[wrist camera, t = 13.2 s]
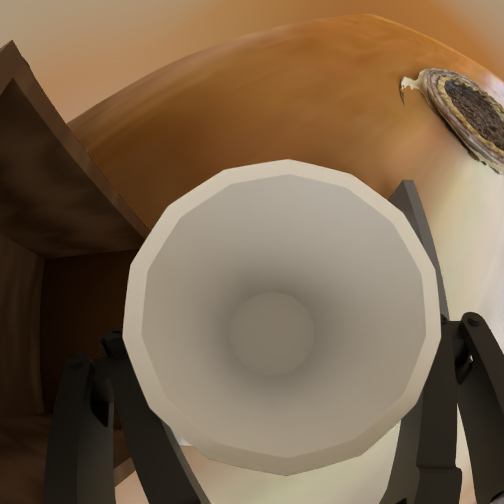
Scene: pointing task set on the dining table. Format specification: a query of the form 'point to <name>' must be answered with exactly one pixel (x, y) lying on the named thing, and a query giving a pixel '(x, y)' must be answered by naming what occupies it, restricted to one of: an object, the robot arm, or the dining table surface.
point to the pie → (465, 113)
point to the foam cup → (282, 317)
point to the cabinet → (32, 261)
